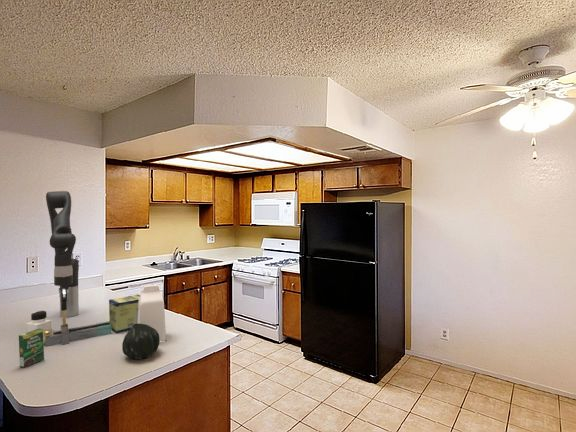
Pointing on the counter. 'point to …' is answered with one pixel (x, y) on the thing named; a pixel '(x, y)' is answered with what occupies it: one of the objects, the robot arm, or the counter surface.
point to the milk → (152, 310)
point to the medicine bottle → (39, 321)
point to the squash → (140, 341)
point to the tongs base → (74, 334)
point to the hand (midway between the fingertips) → (63, 310)
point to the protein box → (123, 313)
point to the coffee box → (31, 347)
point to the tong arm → (84, 327)
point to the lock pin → (64, 317)
